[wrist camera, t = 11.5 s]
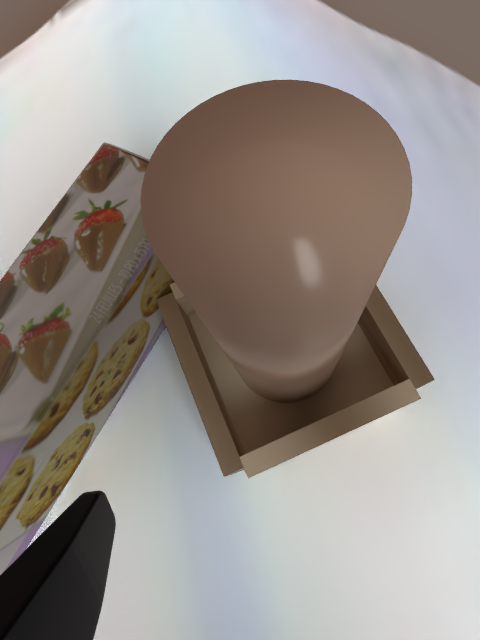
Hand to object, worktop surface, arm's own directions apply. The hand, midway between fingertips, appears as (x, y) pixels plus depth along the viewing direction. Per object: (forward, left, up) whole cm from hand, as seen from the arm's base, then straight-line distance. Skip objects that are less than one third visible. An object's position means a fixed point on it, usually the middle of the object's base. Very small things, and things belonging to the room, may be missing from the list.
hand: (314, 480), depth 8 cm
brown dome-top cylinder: (+1, +5, -9) cm, 10 cm away
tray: (+1, +5, -10) cm, 11 cm away
